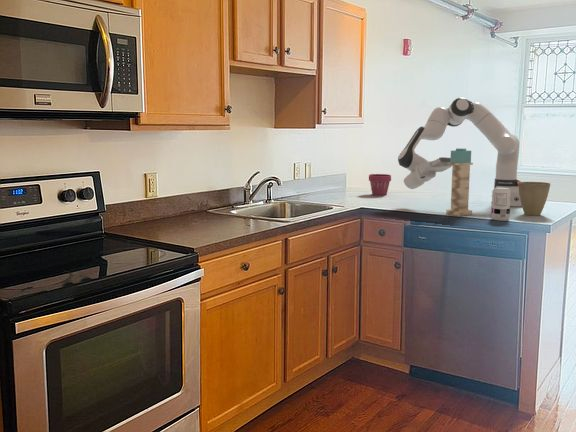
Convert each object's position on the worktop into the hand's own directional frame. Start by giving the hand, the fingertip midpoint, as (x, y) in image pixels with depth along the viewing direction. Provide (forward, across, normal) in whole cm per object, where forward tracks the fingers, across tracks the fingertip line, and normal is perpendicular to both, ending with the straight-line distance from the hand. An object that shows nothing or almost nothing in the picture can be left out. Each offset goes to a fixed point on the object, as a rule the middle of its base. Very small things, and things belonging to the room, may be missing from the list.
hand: (445, 159), depth 299 cm
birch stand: (-6, 0, -28) cm, 29 cm away
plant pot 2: (+14, -28, -40) cm, 51 cm away
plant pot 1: (-75, -22, +12) cm, 79 cm away
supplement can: (+13, -3, -40) cm, 42 cm away
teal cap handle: (+4, 0, -3) cm, 5 cm away
